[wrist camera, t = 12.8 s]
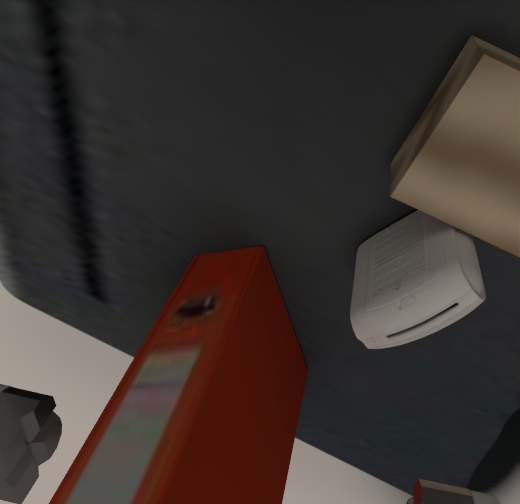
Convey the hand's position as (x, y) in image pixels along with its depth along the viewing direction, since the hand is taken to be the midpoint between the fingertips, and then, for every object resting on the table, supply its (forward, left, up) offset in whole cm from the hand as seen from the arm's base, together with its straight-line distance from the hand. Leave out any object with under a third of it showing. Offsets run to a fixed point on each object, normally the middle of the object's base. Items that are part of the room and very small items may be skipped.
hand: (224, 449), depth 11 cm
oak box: (+4, +12, -33) cm, 36 cm away
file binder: (+27, -6, -33) cm, 43 cm away
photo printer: (+14, +8, -33) cm, 37 cm away
